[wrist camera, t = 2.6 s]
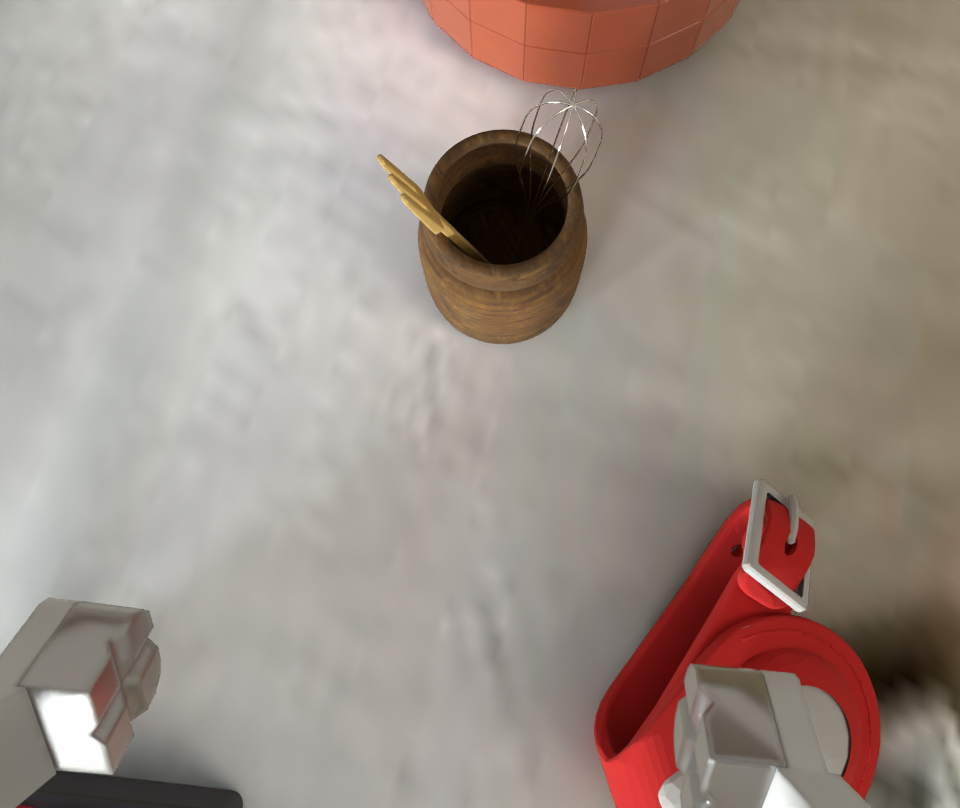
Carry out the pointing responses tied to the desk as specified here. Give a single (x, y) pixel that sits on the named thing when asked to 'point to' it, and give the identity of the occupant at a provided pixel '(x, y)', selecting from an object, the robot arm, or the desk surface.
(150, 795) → the calculator
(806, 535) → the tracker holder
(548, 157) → the utensil holder
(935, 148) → the desk surface
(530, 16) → the bowl
